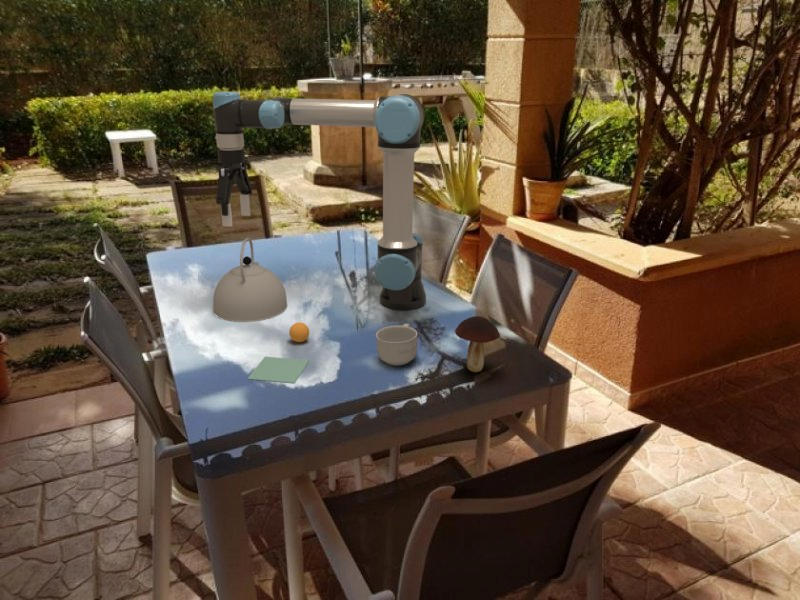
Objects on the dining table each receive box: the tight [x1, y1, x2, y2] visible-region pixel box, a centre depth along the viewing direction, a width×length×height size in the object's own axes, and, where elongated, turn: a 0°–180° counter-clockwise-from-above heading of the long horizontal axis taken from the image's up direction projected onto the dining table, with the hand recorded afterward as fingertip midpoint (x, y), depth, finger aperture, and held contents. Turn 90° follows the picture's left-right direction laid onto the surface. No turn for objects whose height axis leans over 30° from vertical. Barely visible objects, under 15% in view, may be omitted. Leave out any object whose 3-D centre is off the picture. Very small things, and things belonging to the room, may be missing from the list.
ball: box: [289, 322, 310, 343], centre depth 164 cm, size 6×6×6 cm
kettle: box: [212, 236, 288, 323], centre depth 185 cm, size 25×23×22 cm
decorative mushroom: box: [454, 315, 501, 373], centre depth 148 cm, size 11×11×15 cm
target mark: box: [247, 356, 310, 384], centre depth 150 cm, size 12×12×1 cm
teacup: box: [375, 323, 418, 367], centre depth 155 cm, size 14×11×8 cm
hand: (237, 220), depth 178 cm, fingers open, 13 cm apart
